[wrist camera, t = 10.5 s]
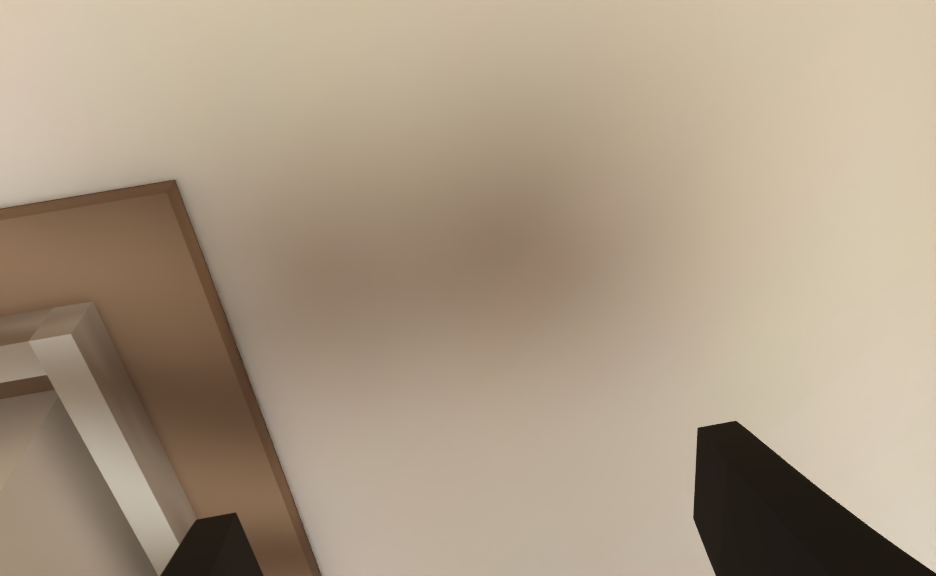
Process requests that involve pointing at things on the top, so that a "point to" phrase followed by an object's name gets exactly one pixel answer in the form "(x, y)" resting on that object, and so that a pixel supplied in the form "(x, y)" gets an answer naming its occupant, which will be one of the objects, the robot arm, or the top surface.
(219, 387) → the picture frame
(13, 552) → the cream rectangular block
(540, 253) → the top surface
